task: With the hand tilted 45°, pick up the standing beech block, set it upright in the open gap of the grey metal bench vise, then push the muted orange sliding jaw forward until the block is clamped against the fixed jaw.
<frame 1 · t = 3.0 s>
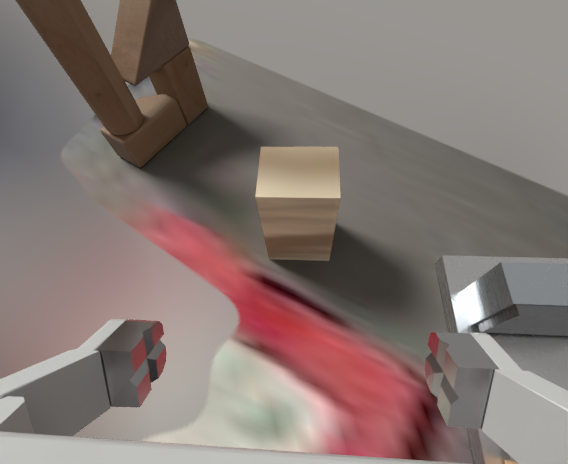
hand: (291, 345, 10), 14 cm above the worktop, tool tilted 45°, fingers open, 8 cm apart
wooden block: (166, 132, 35), on the worktop
beech block: (299, 238, 28), on the worktop
vise: (547, 425, 20), on the worktop
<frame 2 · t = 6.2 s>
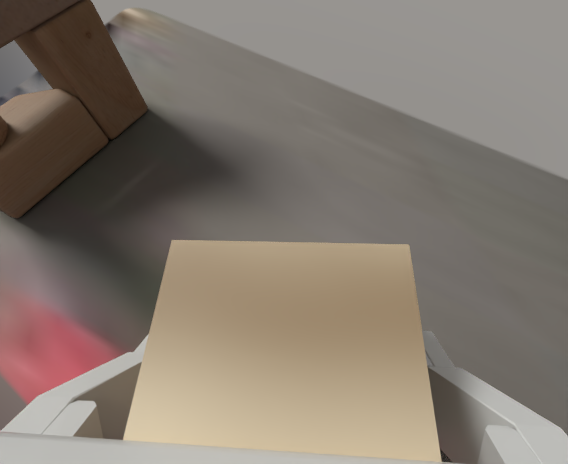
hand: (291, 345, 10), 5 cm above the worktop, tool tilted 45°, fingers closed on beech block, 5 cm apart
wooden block: (76, 152, 21), on the worktop
beech block: (295, 378, 14), on the worktop, touching gripper
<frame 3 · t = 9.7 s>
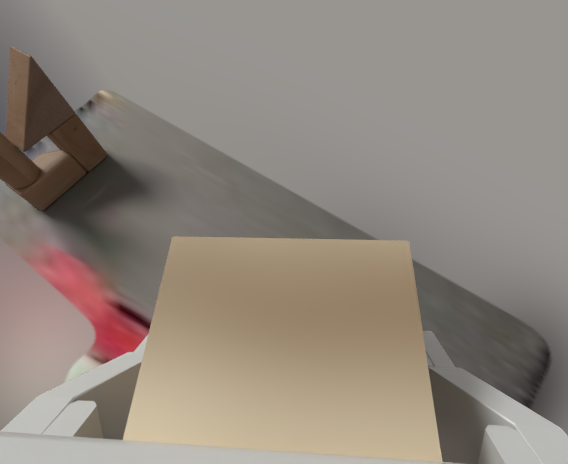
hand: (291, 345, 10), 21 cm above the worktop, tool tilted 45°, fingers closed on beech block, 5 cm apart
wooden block: (70, 178, 42), on the worktop
beech block: (295, 376, 14), point 17 cm above the worktop, touching gripper
when the fingers open (8 cm above the worktop, at t = 13.4 s): beech block drops 1 cm, resting on vise.
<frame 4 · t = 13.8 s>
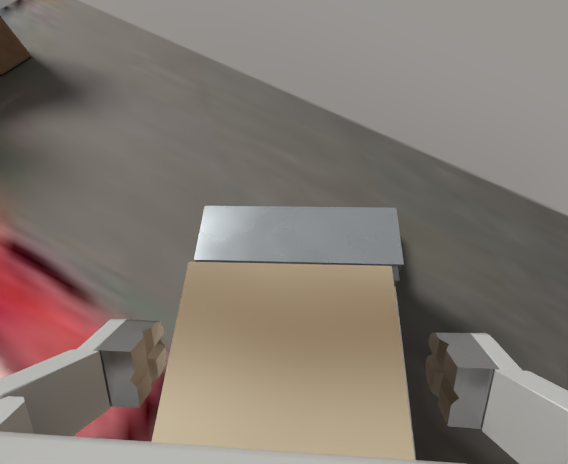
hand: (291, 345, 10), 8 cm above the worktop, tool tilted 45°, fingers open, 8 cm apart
beech block: (295, 379, 15), point 1 cm above the worktop, touching vise
vise: (295, 429, 15), on the worktop
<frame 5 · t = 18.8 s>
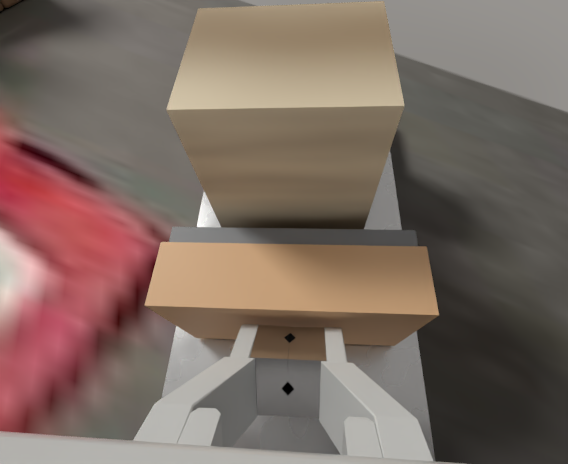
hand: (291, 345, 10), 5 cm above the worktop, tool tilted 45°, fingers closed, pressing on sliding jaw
beech block: (295, 231, 16), point 1 cm above the worktop, touching vise
sliding jaw: (291, 291, 11), point 4 cm above the worktop, slide at 0.7 cm, touching gripper
vise: (296, 281, 16), on the worktop
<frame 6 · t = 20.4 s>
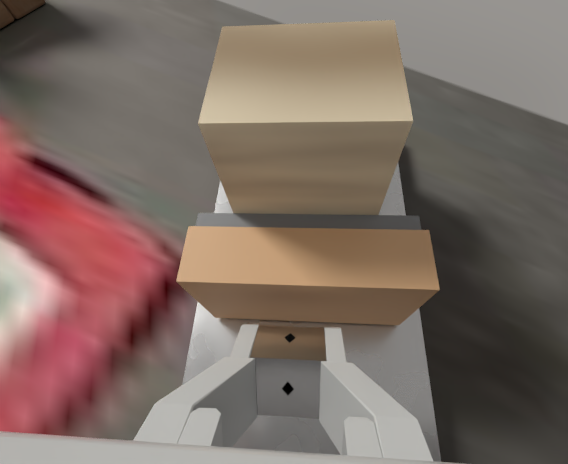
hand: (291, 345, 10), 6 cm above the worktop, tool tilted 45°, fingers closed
beech block: (306, 230, 16), point 1 cm above the worktop, touching vise
sliding jaw: (305, 273, 12), point 4 cm above the worktop, slide at 2.4 cm
vise: (305, 300, 16), on the worktop
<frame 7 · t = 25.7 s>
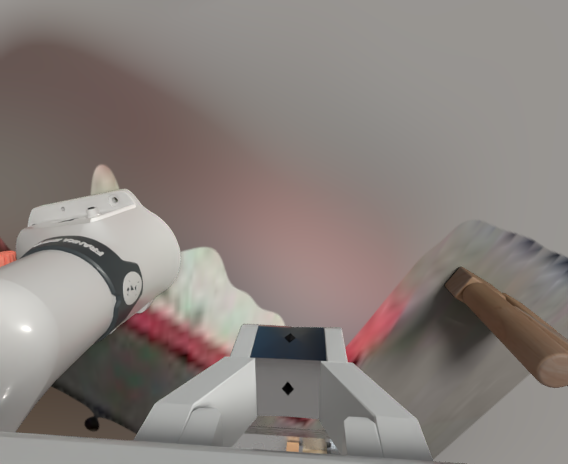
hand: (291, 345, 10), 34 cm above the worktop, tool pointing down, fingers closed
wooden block: (481, 293, 45), on the worktop
beech block: (314, 461, 54), point 1 cm above the worktop, touching vise
vise: (295, 451, 55), on the worktop
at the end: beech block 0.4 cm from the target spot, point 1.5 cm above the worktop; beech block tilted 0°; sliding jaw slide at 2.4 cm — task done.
